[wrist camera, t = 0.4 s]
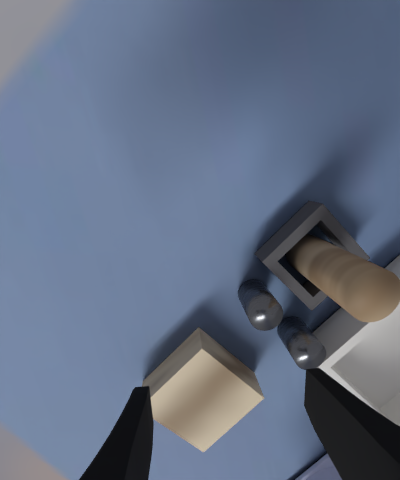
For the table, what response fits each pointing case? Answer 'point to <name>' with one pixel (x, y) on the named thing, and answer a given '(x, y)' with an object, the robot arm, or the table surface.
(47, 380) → the table surface
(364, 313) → the dowel
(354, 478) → the robot arm
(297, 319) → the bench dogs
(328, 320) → the tray
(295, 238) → the dowel collar
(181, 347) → the maple block
